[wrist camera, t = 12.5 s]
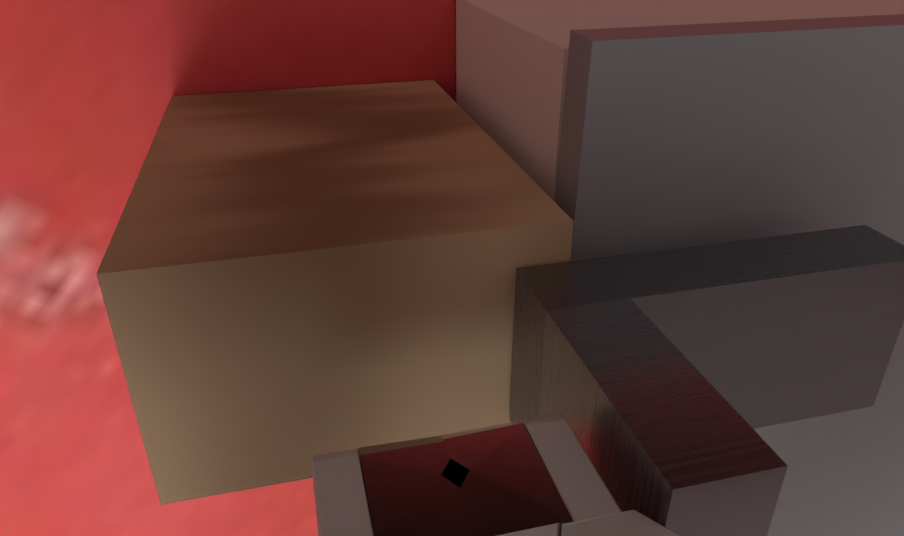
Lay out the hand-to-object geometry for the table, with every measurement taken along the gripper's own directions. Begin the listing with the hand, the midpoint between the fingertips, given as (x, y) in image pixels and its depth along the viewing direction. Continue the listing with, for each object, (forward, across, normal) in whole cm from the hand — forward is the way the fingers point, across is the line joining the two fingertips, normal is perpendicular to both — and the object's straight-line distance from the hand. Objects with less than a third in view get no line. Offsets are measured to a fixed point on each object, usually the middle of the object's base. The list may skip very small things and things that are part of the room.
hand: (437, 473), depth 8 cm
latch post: (+12, +1, 0) cm, 12 cm away
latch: (+2, -5, 0) cm, 5 cm away
